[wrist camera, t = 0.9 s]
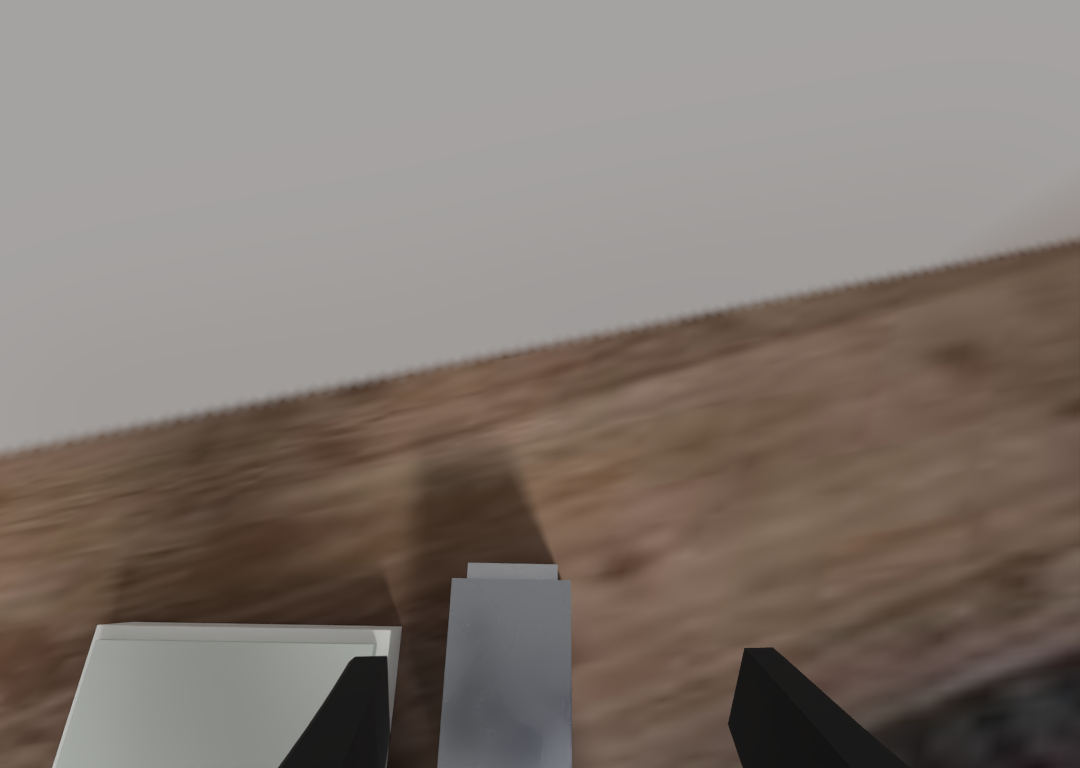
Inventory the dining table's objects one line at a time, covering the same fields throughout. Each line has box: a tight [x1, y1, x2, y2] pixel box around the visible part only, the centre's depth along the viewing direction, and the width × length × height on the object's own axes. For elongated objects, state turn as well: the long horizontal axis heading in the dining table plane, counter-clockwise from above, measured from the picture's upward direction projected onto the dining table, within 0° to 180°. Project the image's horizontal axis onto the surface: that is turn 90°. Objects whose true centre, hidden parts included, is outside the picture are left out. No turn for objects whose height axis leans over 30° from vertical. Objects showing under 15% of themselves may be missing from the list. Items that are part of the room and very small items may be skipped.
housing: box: [437, 563, 572, 768], centre depth 20 cm, size 9×4×5 cm, turn 179°
